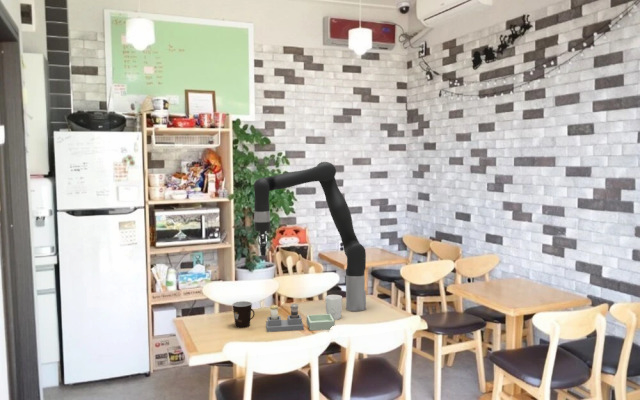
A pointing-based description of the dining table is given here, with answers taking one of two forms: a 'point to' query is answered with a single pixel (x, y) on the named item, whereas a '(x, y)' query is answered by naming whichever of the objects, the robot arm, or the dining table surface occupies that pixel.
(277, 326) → the fuse block
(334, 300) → the white cup
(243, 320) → the coffee mug
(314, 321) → the parts tray
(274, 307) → the fuse
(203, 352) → the dining table surface
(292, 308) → the fuse
